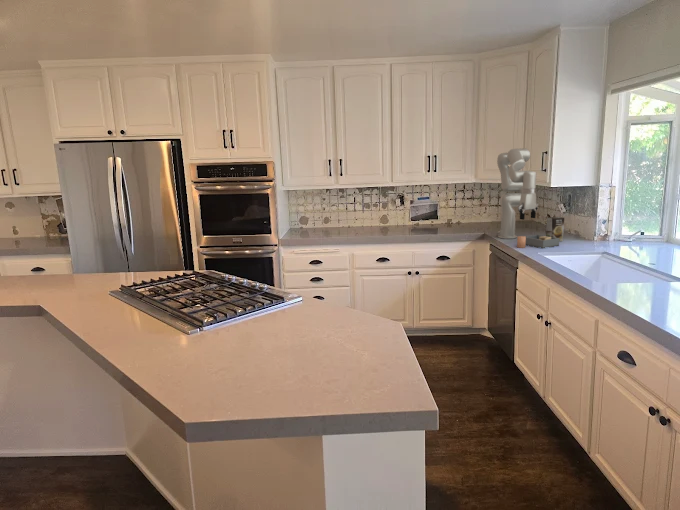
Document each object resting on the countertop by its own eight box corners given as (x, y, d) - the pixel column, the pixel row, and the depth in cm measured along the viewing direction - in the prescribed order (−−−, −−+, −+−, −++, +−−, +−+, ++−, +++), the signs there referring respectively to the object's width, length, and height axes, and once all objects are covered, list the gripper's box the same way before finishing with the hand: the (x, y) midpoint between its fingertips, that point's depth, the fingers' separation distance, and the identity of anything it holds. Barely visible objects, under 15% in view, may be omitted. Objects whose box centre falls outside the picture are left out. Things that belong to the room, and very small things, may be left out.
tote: (520, 244, 299) (521, 236, 297) (536, 241, 304) (536, 234, 303) (543, 248, 282) (543, 240, 281) (558, 246, 288) (559, 238, 287)
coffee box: (551, 242, 300) (553, 218, 296) (545, 240, 306) (546, 217, 303) (563, 241, 302) (565, 217, 299) (556, 239, 308) (557, 216, 305)
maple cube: (538, 244, 291) (539, 236, 290) (544, 243, 293) (545, 236, 292) (544, 245, 286) (545, 238, 285) (550, 244, 288) (551, 237, 287)
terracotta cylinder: (515, 247, 289) (515, 236, 288) (521, 246, 291) (521, 235, 290) (521, 248, 285) (521, 237, 284) (527, 247, 287) (527, 236, 286)
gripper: (533, 190, 288) (532, 216, 292) (514, 192, 280) (512, 219, 284) (543, 190, 281) (542, 218, 285) (523, 192, 274) (522, 220, 277)
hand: (527, 218), depth 285 cm, fingers open, 9 cm apart
